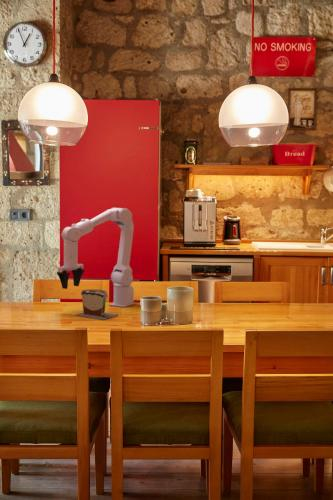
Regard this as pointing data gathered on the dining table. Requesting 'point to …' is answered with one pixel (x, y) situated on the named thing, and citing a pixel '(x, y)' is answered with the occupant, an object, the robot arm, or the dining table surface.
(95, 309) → the food container
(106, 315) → the mat
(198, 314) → the dining table surface
